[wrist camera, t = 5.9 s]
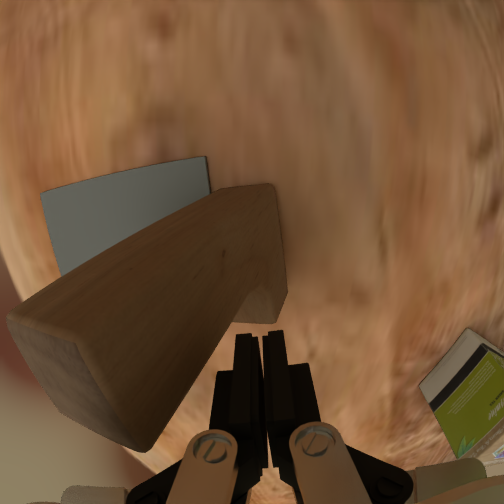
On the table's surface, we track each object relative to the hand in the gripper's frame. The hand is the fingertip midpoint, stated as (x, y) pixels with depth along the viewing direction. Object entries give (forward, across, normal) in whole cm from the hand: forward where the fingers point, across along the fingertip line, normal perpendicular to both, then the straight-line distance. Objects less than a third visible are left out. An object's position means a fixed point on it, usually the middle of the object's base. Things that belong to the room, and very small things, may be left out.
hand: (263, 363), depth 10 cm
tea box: (+14, -27, +21) cm, 37 cm away
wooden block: (+14, 0, 0) cm, 14 cm away
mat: (+14, +11, 0) cm, 18 cm away
